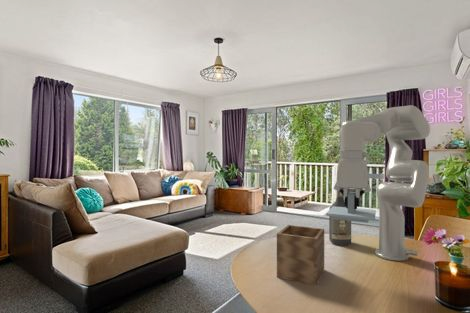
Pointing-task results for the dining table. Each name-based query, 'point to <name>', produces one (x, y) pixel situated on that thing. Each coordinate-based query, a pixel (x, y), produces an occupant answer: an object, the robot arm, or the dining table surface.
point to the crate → (300, 254)
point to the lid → (351, 212)
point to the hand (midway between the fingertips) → (351, 207)
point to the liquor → (339, 225)
